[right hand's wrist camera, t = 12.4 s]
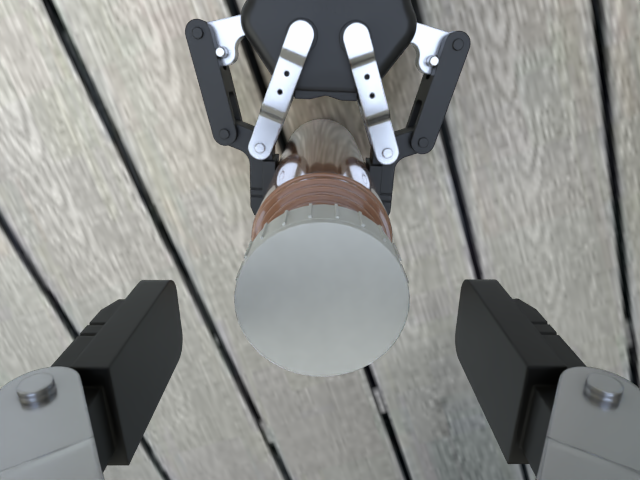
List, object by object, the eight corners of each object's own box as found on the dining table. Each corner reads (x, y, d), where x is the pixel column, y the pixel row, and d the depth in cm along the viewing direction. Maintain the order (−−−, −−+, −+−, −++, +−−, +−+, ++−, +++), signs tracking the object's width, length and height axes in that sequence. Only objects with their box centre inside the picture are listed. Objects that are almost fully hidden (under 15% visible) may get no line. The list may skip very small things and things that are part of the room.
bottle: (301, 200, 32) (272, 394, 13) (274, 134, 31) (197, 247, 12) (367, 176, 32) (436, 344, 13) (344, 107, 30) (382, 181, 11)
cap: (278, 364, 14) (273, 398, 13) (215, 234, 13) (201, 256, 11) (420, 319, 14) (432, 350, 12) (372, 178, 12) (379, 193, 11)
